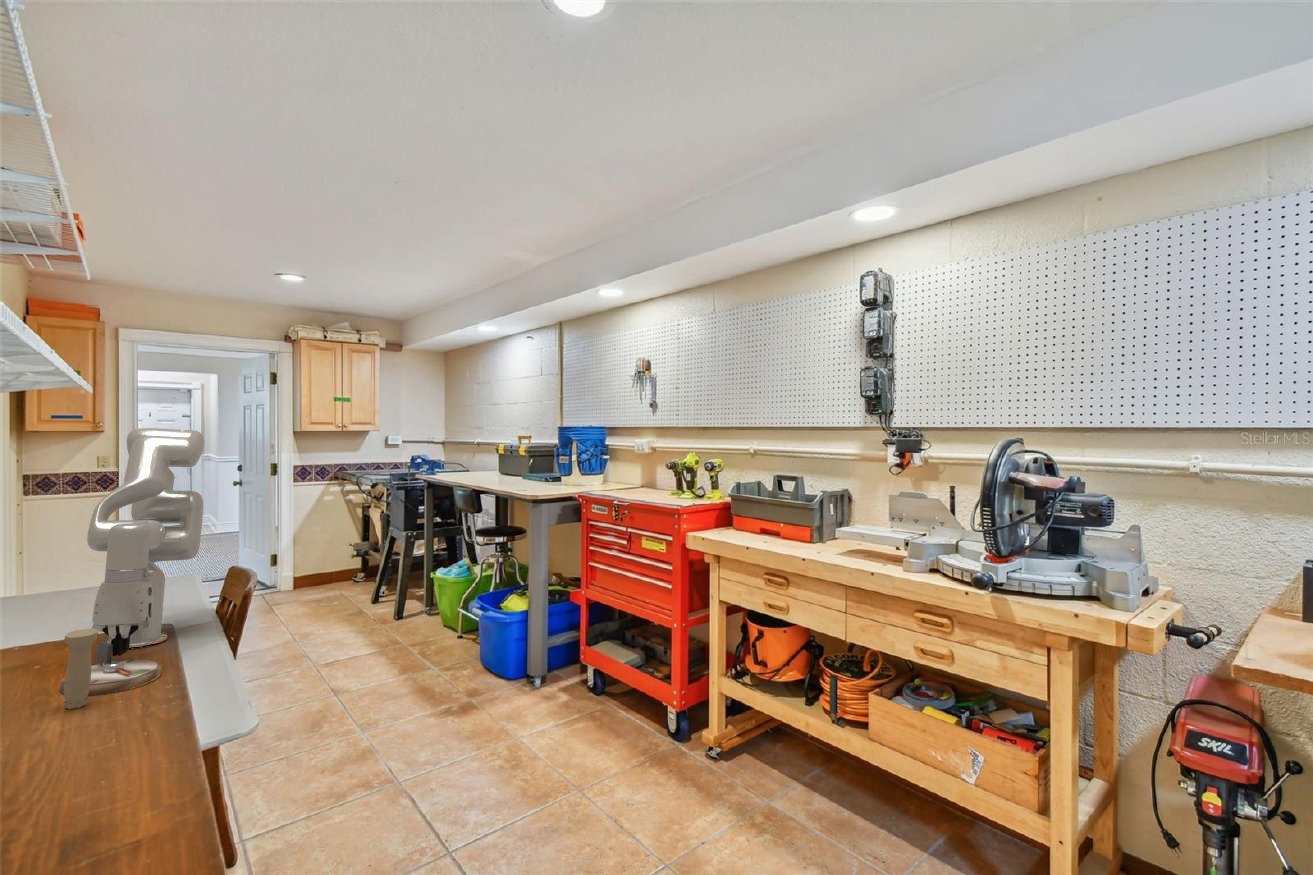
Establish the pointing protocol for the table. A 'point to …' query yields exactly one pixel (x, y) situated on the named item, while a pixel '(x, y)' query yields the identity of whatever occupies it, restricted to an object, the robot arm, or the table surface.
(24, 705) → the table surface
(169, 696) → the table surface
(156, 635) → the robot arm
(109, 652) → the dial pointer
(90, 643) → the handle
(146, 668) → the base
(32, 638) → the table surface
